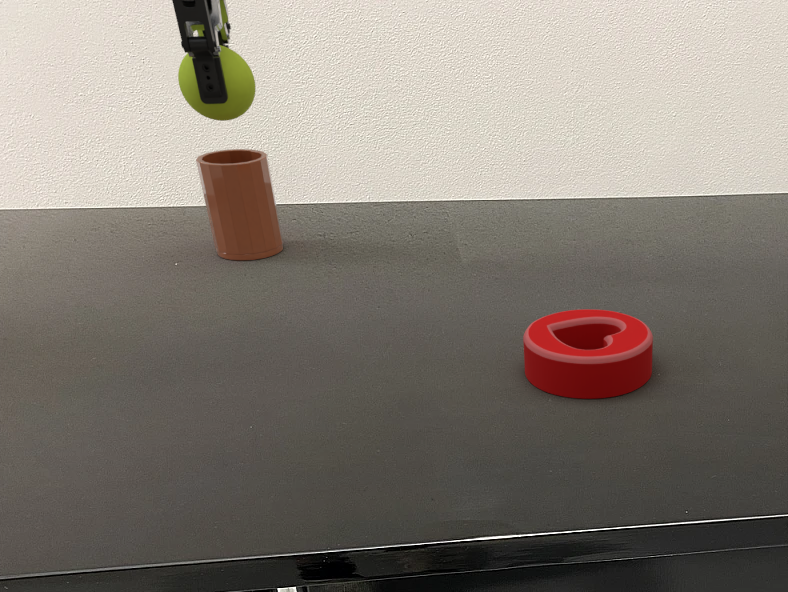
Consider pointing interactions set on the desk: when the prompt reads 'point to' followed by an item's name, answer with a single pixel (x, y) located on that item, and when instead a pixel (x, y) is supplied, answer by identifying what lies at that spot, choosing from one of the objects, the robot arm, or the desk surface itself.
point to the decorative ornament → (588, 353)
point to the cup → (240, 203)
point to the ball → (237, 87)
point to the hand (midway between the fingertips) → (219, 95)
